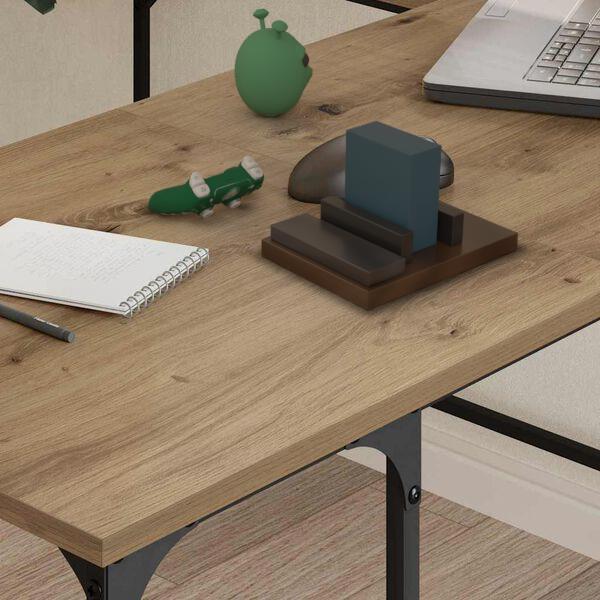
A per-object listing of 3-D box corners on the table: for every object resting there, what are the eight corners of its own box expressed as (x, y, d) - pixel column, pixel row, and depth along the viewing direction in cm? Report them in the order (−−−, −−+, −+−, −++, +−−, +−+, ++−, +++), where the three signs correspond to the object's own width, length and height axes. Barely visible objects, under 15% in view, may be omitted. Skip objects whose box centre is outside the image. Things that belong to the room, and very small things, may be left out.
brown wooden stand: (367, 310, 101) (369, 260, 99) (261, 256, 109) (260, 208, 107) (517, 250, 110) (521, 202, 109) (408, 204, 118) (410, 159, 117)
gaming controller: (162, 241, 116) (194, 209, 111) (141, 201, 116) (172, 167, 111) (248, 211, 121) (281, 180, 117) (227, 173, 122) (260, 140, 117)
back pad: (406, 255, 106) (411, 155, 102) (343, 226, 110) (345, 129, 107) (436, 244, 108) (442, 145, 104) (373, 216, 112) (376, 120, 109)
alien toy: (325, 118, 137) (326, 17, 133) (253, 130, 134) (252, 27, 130) (293, 97, 143) (293, -1, 138) (223, 108, 140) (221, 8, 135)
